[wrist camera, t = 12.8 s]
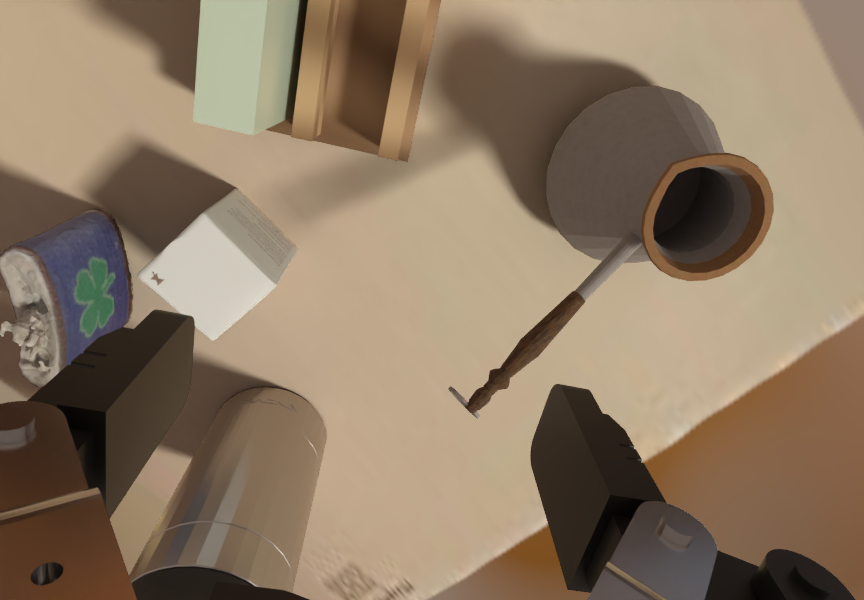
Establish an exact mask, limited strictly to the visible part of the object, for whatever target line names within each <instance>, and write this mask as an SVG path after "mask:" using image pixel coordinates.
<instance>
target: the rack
mask: <svg viewBox="0 0 864 600" xmlns="http://www.w3.org/2000/svg"><path fill="white" fill-rule="evenodd" d="M440 3H441V0H308V5H307V13H306V21H305V29H304V37H303V45H302V53H301V61H300V69H299V77H298V85H297V93H296V101H295V109H294V116H292V117H290V118H288V119H286V120H284V121H282V122H280V123H278V124H276V125H274V126H272V127H270V128H268V129H266V130H269V131H274V132H278V133H282V134H287V135H291V137H294V138H299V139H303V140H307V141H312V140H313V141H318V142H322V143H327V144H331V145H336V146H340V147H345V148H349V149H353V150H358V151H362V152H367V153H371V154H376V155H378V156H379V157H383V158H387V159H392V160H396V161H398V160H402V161H407V162H408V157H409V152H410V147H411V143H412V138H413V133H414V128H415V123H416V118H417V114H418V109H419V104H420V99H421V94H422V90H423V85H424V80H425V75H426V70H427V65H428V61H429V56H430V51H431V46H432V41H433V37H434V32H435V27H436V22H437V17H438V12H439V8H440Z"/></svg>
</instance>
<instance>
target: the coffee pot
mask: <svg viewBox="0 0 864 600" xmlns="http://www.w3.org/2000/svg"><path fill="white" fill-rule="evenodd" d="M546 197H547V201H548V206H549V211H550V215H551V217H552V219H553V221H554V223H555V225H556V227H557V229H558V230H559V232H560V234H561V235H562V236H563V237H564V238H565V239H566V240H567V241H568V242H569V243H570V244H571V245H572V246H573V247H574V248H575V249H577V250H579V251H581V252H582V253H584V254H586V255H588V256H590V257H592V258H594V259H598V260H602V262H601V263H600V264H599V265H598V267H597V268H596V269H595V270H594V271H593V272H592V273H591V274H590V275H589V276H588V277H587V278H586V280H585V281H584V282H583V283H582V284H581V285H580V286H579V287H578V288H577V289H576V290H575V291H573V292H572V293H570V294H569V295H568V296H567V297H566V298H565V299H564V300H563V301H562V302H561V303H560V304H559V305H557V306H556V307H555V308H554V309H553V310H552V311H551V312H550V313H549V314H548V315H547V316H546V317H544V318H543V319H542V320H541V321H540V322H539V323H538V324H537V325H536V326H535V327H534V328H533V329H531V330H530V331H529V332H528V333H527V334H526V335H525V336H524V337H523V338H522V339H521V340H520V341H519V343H518V344H517V346H516V347H515V348H514V350H513V351H512V352H511V354H510V355H509V357H508V358H507V359H506V361H505V362H504V363H503V365H502V366H501V368H500V369H493V370H491V371H490V374H489V381H488V382H487V383H486V384H485V385H484V387H482V388H479V389H477V390H476V391H475V393H474V394H473V395H472V397H471V398H470V399H469V402H467V401H466V400H465V399H464V398H463V397H462V396H461V395H460V394H459V393H458V392H457V391H456V390H455V389H454V388H452V387H450V388H449V390H450V392H451V393H452V394H453V395H454V396H455V397H456V398H457V399H458V400H459V402H460V403H461V404H462V405H463V406H464V407H465V408H466V409H467V410H468V411H469V412H470V413H472V414H473V415H474V416H475V417H476V418H479V417H480V415H479V414H478V413H477V412H476V411H477V410H480V409H481V408H482V407H484V406H485V405H486V404H487V403H488V402H489V401H490V399H491V396H492V395H493V394H494V393H495V392H496V391H497V390H501V389H507V388H508V386H509V381H510V377H512V376H513V375H515V374H516V373H517V372H518V371H520V370H521V369H522V368H523V367H525V366H526V365H527V364H528V363H530V362H531V361H532V360H534V359H535V358H537V357H538V356H539V355H540V354H541V352H542V351H543V350H544V349H545V348H546V347H547V345H548V344H549V343H550V342H551V341H552V340H553V339H554V337H555V336H556V335H557V334H558V333H559V332H560V330H561V329H562V328H563V327H564V326H565V325H566V324H567V322H568V321H569V320H570V319H571V318H572V317H573V315H574V314H575V313H576V312H577V311H578V310H579V309H580V307H581V306H582V305H583V304H584V303H585V300H586V299H587V298H588V297H589V296H590V295H591V294H592V293H593V292H594V291H595V290H596V289H597V288H598V287H599V286H600V285H601V284H602V283H603V282H604V281H605V280H606V279H607V278H608V277H609V276H610V275H611V274H612V273H613V272H614V271H615V270H617V269H618V268H619V267H620V266H621V265H622V264H623V263H636V262H644V261H652V262H653V264H654V265H655V266H656V267H657V268H658V269H659V270H660V271H662V272H664V273H666V274H668V275H669V276H671V277H674V278H678V279H682V280H687V281H699V280H708V279H712V278H716V277H719V276H722V275H724V274H726V273H728V272H730V271H732V270H734V269H736V268H738V267H739V266H740V265H741V264H742V263H744V262H745V261H746V260H747V259H748V258H750V257H751V256H752V255H753V253H754V252H755V251H756V250H757V248H758V247H759V246H760V245H761V243H762V242H763V240H764V238H765V236H766V234H767V232H768V230H769V228H770V224H771V220H772V215H773V211H774V209H773V193H772V190H771V188H770V185H769V182H768V179H767V178H766V177H765V175H764V174H763V173H762V171H761V170H760V169H759V168H758V166H757V165H755V164H754V163H752V162H750V161H749V160H747V159H746V158H744V157H741V156H738V155H734V154H730V153H724V150H723V147H722V144H721V141H720V138H719V136H718V133H717V130H716V128H715V125H714V123H713V122H712V120H711V119H710V118H709V117H708V115H707V114H706V113H705V111H704V110H703V109H702V108H701V106H700V105H698V104H697V103H695V102H694V101H692V100H691V99H689V98H688V97H686V96H685V95H683V94H682V93H680V92H677V91H673V90H670V89H666V88H663V87H659V86H637V87H630V88H627V89H623V90H620V91H617V92H613V93H610V94H608V95H606V96H604V97H603V98H601V99H599V100H598V101H596V102H594V103H593V104H591V105H589V106H588V107H586V108H585V109H584V110H583V111H582V112H581V113H580V114H579V115H578V116H577V117H576V118H575V119H574V120H573V121H572V122H571V123H570V124H569V125H568V126H567V128H566V129H565V131H564V132H563V134H562V136H561V137H560V139H559V141H558V142H557V144H556V145H555V147H554V150H553V153H552V156H551V160H550V163H549V166H548V169H547V181H546Z"/></svg>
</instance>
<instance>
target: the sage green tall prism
mask: <svg viewBox="0 0 864 600" xmlns="http://www.w3.org/2000/svg"><path fill="white" fill-rule="evenodd" d="M307 5H308V0H201V5H200V20H199V35H198V51H197V66H196V81H195V97H194V112H193V122H196V123H201V124H205V125H209V126H214V127H218V128H222V129H227V130H231V131H235V132H240V133H244V134H248V135H255V134H257V133H259V132H261V131H264V130H266V129H268V128H270V127H272V126H274V125H276V124H278V123H280V122H282V121H284V120H286V119H288V118H290V117H292V116H294V109H295V101H296V93H297V85H298V77H299V69H300V61H301V53H302V45H303V37H304V29H305V21H306V13H307Z"/></svg>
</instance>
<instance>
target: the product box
mask: <svg viewBox="0 0 864 600" xmlns="http://www.w3.org/2000/svg"><path fill="white" fill-rule="evenodd" d="M297 251H298V248H297V247H296V246H295V245H294V244H293V243H292V242H291V241H290V240H289V239H288V238H287V237H286V236H285V235H284V234H283V233H282V232H281V231H280V230H279V229H278V228H277V227H276V226H275V225H274V224H273V223H272V222H271V221H270V220H269V219H268V218H267V217H266V216H265V215H264V214H263V213H262V212H261V211H260V210H259V209H258V208H257V207H256V206H255V205H254V204H253V203H252V202H251V201H250V200H249V199H248V198H247V197H246V196H245V195H244V194H243V193H242V192H241V191H240V190H239V189H238V188H235V189H234V190H232V191H231V192H230V193H229V194H227V195H226V196H225V197H223V198H222V199H221V200H219V201H218V202H216V203H215V204H213V205H212V206H211V207H209V208H208V209H206V210H205V211H204V212H203V213H201V214H200V215H199V216H198V217H197V218H196V219H195V220H194V221H193V222H192V223H191V224H190V225H189V226H188V227H187V228H186V229H185V230H184V231H182V232H181V233H180V234H179V235H178V236H177V237H176V238H175V239H174V240H173V241H172V242H171V243H170V244H169V245H168V246H167V247H166V248H165V249H164V250H162V251H161V252H160V253H159V254H158V255H157V256H156V257H155V258H154V259H153V260H152V261H151V262H150V263H149V264H148V265H146V266H145V267H144V268H143V269H142V270H141V271H140V272H139V273H138V278H139V279H140V280H142V281H143V282H144V283H145V284H146V285H148V286H149V287H150V288H151V289H152V290H154V291H155V292H156V293H157V294H158V295H159V296H161V297H162V298H163V299H164V300H165V301H166V302H168V303H169V304H170V305H171V306H172V307H173V308H175V309H176V310H177V311H178V312H179V313H180V314H183V315H189V316H192V317H193V318H194V322H195V327H196V328H198V329H199V330H200V331H201V332H202V333H203V334H204V335H206V336H207V337H208V338H209V339H210V340H212V341H214V340H215V339H216V338H218V337H219V336H220V335H221V334H223V333H224V332H225V331H226V330H227V329H228V328H230V327H231V326H232V325H233V324H234V323H236V322H237V321H238V320H239V319H240V318H241V317H243V316H244V315H245V314H246V313H247V312H248V311H250V310H251V309H252V308H253V307H254V306H255V305H256V304H258V303H259V302H260V301H261V300H262V299H263V298H264V297H266V296H267V295H268V294H269V293H270V292H271V291H272V290H273V289H274V288H275V287H276V286H277V284H278V282H279V281H280V279H281V277H282V276H283V274H284V272H285V270H286V269H287V267H288V266H289V264H290V262H291V261H292V259H293V258H294V256H295V255H296V253H297Z"/></svg>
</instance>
